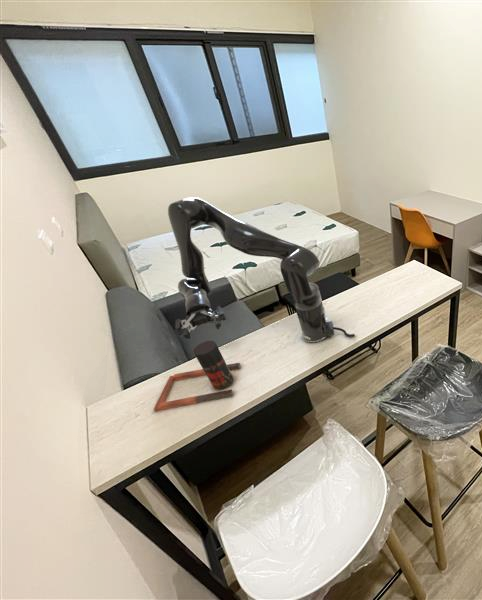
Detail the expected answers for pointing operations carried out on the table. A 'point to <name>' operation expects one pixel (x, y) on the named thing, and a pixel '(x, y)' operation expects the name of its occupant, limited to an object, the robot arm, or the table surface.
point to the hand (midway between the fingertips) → (202, 331)
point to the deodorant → (213, 365)
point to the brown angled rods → (191, 400)
